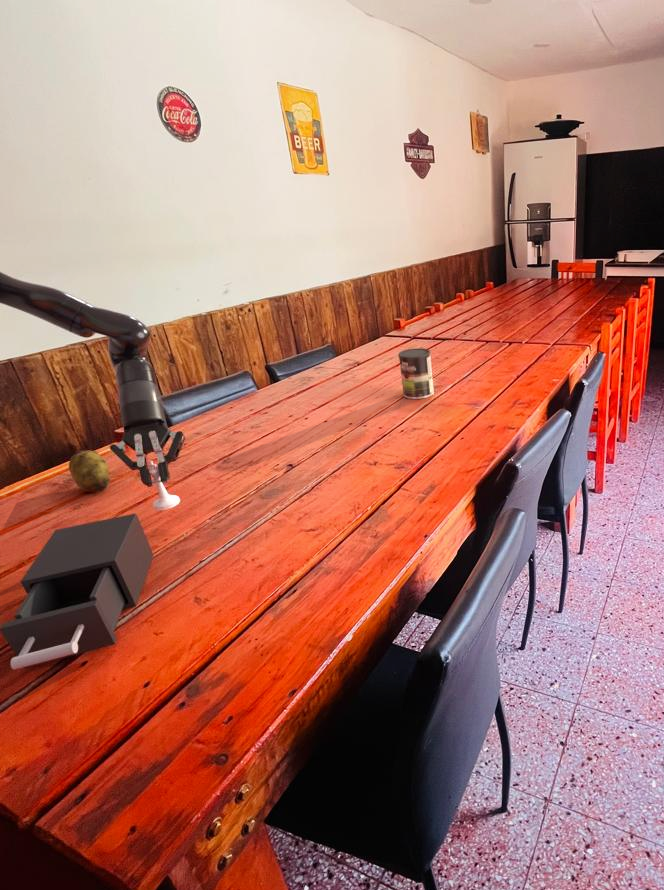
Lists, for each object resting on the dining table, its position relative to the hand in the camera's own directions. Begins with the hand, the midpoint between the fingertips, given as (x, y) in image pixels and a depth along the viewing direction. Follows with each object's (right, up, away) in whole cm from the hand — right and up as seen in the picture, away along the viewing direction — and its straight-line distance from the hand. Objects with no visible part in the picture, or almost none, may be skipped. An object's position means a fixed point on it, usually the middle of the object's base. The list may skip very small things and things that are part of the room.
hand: (156, 483), depth 101 cm
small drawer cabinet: (-1, -18, -12) cm, 21 cm away
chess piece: (-1, -5, +4) cm, 6 cm away
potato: (-29, -2, +22) cm, 37 cm away
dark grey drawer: (+3, -22, -23) cm, 32 cm away
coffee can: (+44, +25, +69) cm, 85 cm away
